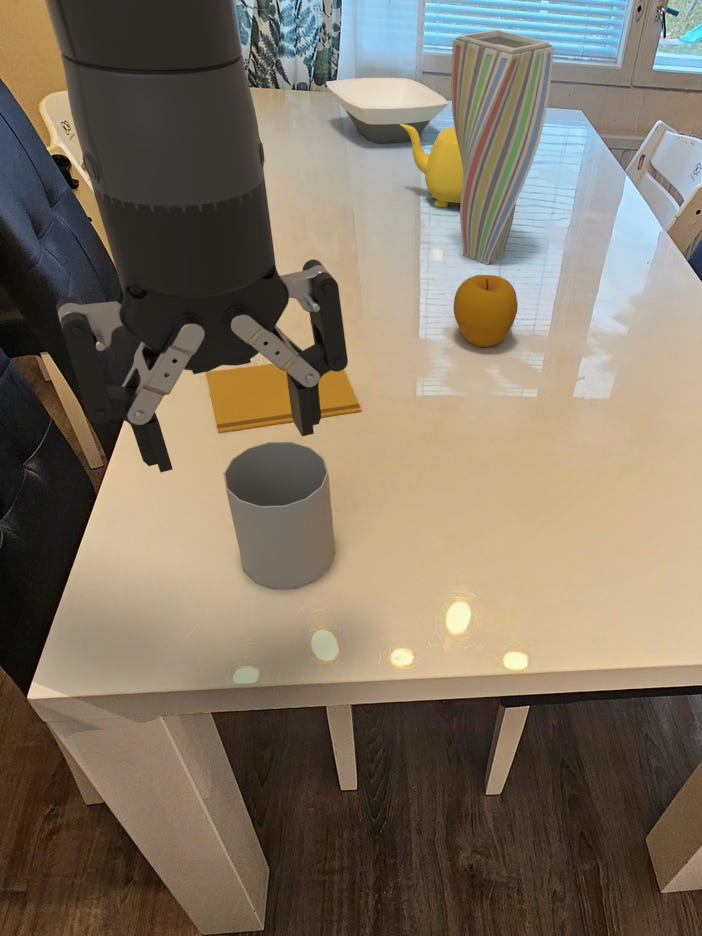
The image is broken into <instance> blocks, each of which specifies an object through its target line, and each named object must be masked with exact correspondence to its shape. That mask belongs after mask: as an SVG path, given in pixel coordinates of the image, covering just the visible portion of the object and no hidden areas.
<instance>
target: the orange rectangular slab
mask: <svg viewBox="0 0 702 936" xmlns="http://www.w3.org/2000/svg"><path fill="white" fill-rule="evenodd" d="M205 374H206V380H207V385H208V390H209V393H210V394H209V395H210V400H211V405H212V411H213V415H214V420H215V425H216V430H217V433H218V434H222V433H228V432H234V431H240V430H241V431H243V430H249V429H256V428H260V427H261V428H262V427H269V426H274V425H281V424H287V423H294V421H293V418H292V412H291V405H290V397H289V390H288V382H287V374H286V371H284V370H283V371H282V370H281V369H279V368H278V367H277V366H276V365H274V364H273V363H270V364H260V365H251V366H244V367H236V368H235V367H234V368H228V369H220V370H210V371H208V372H205ZM318 388H319V398H320V410H321V419H322V418H328V417H335V416H336V417H337V416H341V415H348V414H356V413H361V412H362V408H361V406H360V404H359V401H358V399H357V397H356V394H355V392H354V389H353V387H352V385H351V382H350V380H349V378H348V375H347V373H346V371H345V368H344V369H343V370H341V371H338V372H335V371H332V370H331V371H329V372H327V373H326V374H324V375H323V376H322V377H321V378H320V380H319V383H318Z"/></svg>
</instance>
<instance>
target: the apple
mask: <svg viewBox="0 0 702 936" xmlns="http://www.w3.org/2000/svg"><path fill="white" fill-rule="evenodd" d="M454 295H455V296H454V298H453V307H452V308H453V314H454V319H455V321H456V324H457V326H458V329H459V331H460V332H461V334H462V335H463V336H464V338H465V340H467V341H468V342H469V343H470V344H472V345H474V346H475V347H480V348H488V347H493V346H495V345H497V344H498V343H500V342H501V341H503V339H504V338H505V337H507V335H508V334H509V332H510V330H511V329H512V327H513V325H514V323H515V320H516V316H517V314H518V309H519V308H518V307H519V304H518V297H517V292H516V290H515V288H514V286H513V285H512V284H511V283H510V281H509V280H507V279H505V278H503V277H502V276H498V275H495V274H493V275H492V274H476V275H473V276H471V277H468V278H467V279H465V280H463V282H462V283H461V284H460V285H459V286H458V288H457V290H456V291H455V294H454Z"/></svg>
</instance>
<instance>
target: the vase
mask: <svg viewBox="0 0 702 936" xmlns="http://www.w3.org/2000/svg"><path fill="white" fill-rule="evenodd" d="M554 48H555V47H554V46H552V44H550V42H549V41H545V40H541V39H536V38H533V37H528V36H524V35H521V34H516V33H512V32H508V31H503V30H500V29H491V30H487V31H485V30H484V31H479V32H474V33H468V34H463V35H458V37H455V39H452V47H451V49H452V50H451V63H450V64H451V68H450V69H451V71H450V74H451V75H450V89H451V90H450V92H451V93H450V94H451V111H452V112H451V113H452V119H453V125H454V126H453V128H455V132H456V137H457V142H458V146H459V151H460V155H461V159H462V166H463V189H462V195H461V203H460V207H459V213H460V214H459V215H460V216H459V221H460V233H461V242H462V249H463V252H462V253H463V254H462V255H463V256H465V257H466V258H470V259H472V260H475V261H477V262H479V263H482V264H484V265H487V266H489V265H490V264H492V263H495V262H496V260H497V261H498V260H499V259H501V258H504V257H505V256H506V251H507V250H506V249H507V245H508V242H509V239H510V235H511V230H512V227H513V221H514V217H515V211H516V206H517V200H518V198H519V196H520V194H521V192H522V189H523V187H524V185H525V182H526V180H527V177H528V175H529V172H530V171H531V168H532V165H533V163H534V159H535V156H536V153H537V150H538V147H539V144H540V140H541V138H542V137H541V136H542V133H543V130H544V124H545V119H546V114H547V108H548V102H549V95H550V91H551V82H552V81H551V80H552V73H553V72H552V71H553V64H554V63H553V62H554V52H555V51H554V50H555V49H554Z"/></svg>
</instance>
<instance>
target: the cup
mask: <svg viewBox="0 0 702 936" xmlns="http://www.w3.org/2000/svg"><path fill="white" fill-rule="evenodd" d="M223 479H224V480H223V481H224V486H225V492H226V496H227V501H228V505H229V510H230V514H231V519H232V523H233V528H234V532H235V537H236V541H237V546H238V550H239V554H240V559H241V563H242V568H243V571H244V572H245V573H246V574H247V575H248V576H249V578H251V580H252V581H253V582H255V584H259V585H262V586H265V587H267V588H270V589H273V590H283V589H285V590H286V589H287V590H288V589H297V588H300V587H304V586H305V585H308V584H311V583H314V582H316V581H317V580H319V579H320V578H321V577H322V576H323V575H324V574H325V573H326V572H327V571H328V570H329V569H331V566H332V563H333V560H334V557H335V555H336V549H335V547H336V546H335V537H334V535H335V534H334V524H333V511H332V501H331V499H332V498H331V489H330V488H331V486H330V476H329V470H328V466H327V463H326V460H325V458H324V457H323V456H322V455H321V454H320V453H318V452H317V451H316V450H315V449H313V448H312V447H311V446H307V445H304V444H300V443H297V442H294V441H267V442H265V443H261V444H258V445H255V446H251V447H247V448H246V449H244V450H243V451H242V452H240V453H238V454H237V455H235V456H234V457H233V458H231V460H230V461H229V463H228V465H227V466H226V469H225V471H224V472H223Z"/></svg>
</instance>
